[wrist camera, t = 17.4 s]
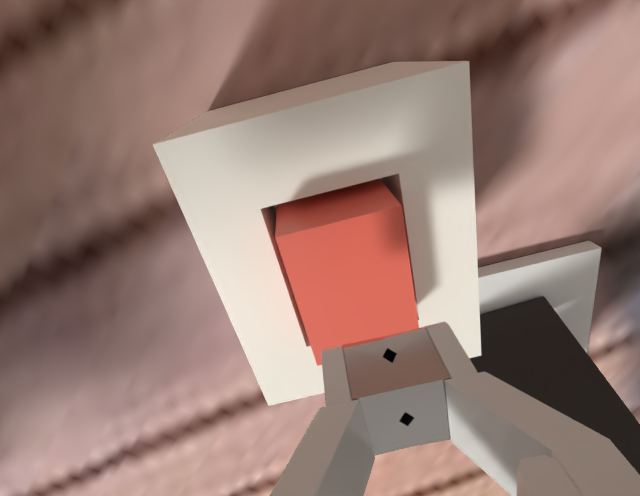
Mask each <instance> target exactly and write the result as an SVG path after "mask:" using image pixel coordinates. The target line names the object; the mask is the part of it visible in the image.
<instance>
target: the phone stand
mask: <svg viewBox="0 0 640 496" xmlns="http://www.w3.org/2000/svg"><path fill="white" fill-rule="evenodd" d="M480 334H481V356H477V357H473V358H469V359H470V360H471V362H472V364H473V365H474V367H475V369H476V370H477V372H478V373H480V372H487V373H489V374H490V375H492V376H494V377H496V378H498V379H500V380H502V381H503V382H505V383H507V384H509V385H511V386H513V387H514V388H516V389H518V390H520V391H522V392H524V393H525V394H527V395H529V396H531V397H533V398H535V399H536V400H538V401H540V402H542V403H544V404H546V405H548V406H549V407H551V408H553V409H555V410H557V411H559V412H560V413H562V414H564V415H566V416H568V417H570V418H571V419H573V420H575V421H577V422H579V423H581V424H582V425H584V426H586V427H588V428H590V429H592V430H594V431H595V432H597V433H599V434H601V435H603V436H605V437H606V438H608V439H610V440H611V442H612V443H613V444H614V445H615V446H616V447H617V449H618V450H619V451H620V452H621V453H622V455H623V456H624V457H625V458H626V459H627V461H628V462H629V463H630V464H631V465H632V466H633V468H634V469H635V470H636V471H637V472H638V474H639V475H640V424H639V423H638V421H637V420H636V419H635V417H634V416H633V415H632V413H631V412H630V411H629V409H628V408H627V407H626V405H625V404H624V403H623V401H622V400H621V399H620V397H619V396H618V394H617V393H616V392H615V390H614V389H613V388H612V386H611V385H610V384H609V382H608V381H607V380H606V378H605V377H604V376H603V374H602V373H601V372H600V370H599V369H598V368H597V366H596V365H595V364H594V362H593V361H592V360H591V358H590V357H589V356H588V354H587V353H586V352H585V350H584V349H583V348H582V346H581V345H580V344H579V342H578V341H577V339H576V338H575V337H574V335H573V334H572V333H571V331H570V330H569V329H568V327H567V326H566V325H565V323H564V322H563V321H562V319H561V318H560V317H559V315H558V314H557V313H556V311H555V310H554V309H553V307H552V306H551V305H550V303H549V302H548V301H547V299H546V298H545V297H544V296H541V297H538V298H534V299H531V300H528V301H524V302H521V303H517V304H514V305H510V306H507V307H504V308H500V309H497V310H493V311H490V312H486V313H483V314H480Z"/></svg>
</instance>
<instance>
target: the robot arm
mask: <svg viewBox="0 0 640 496" xmlns="http://www.w3.org/2000/svg"><path fill="white" fill-rule="evenodd" d="M321 360H322V370H323V381H324V391H325V402H326V407H322V408H319V410H318V412H317V413H316V415H315V417H314V419H313V420H312V422H311V424H310V426H309V427H308V429H307V431H306V433H305V435H304V436H303V438H302V440H301V442H300V443H299V445H298V447H297V449H296V450H295V452H294V454H293V456H292V457H291V459H290V461H289V463H288V464H287V466H286V468H285V470H284V471H283V473H282V475H281V477H280V479H279V480H278V482H277V484H276V486H275V487H274V489H273V491H272V493H271V494H270V496H363V495H364V492H365V489H366V485H367V482H368V479H369V476H370V473H371V469H372V466H373V463H374V460H375V457H374V456H375V455H379V454H383V453H387V452H391V451H395V450H399V449H403V448H407V447H412V446H417V445H423V444H428V443H433V442H439V441H444V440H450V439H451V442H452V443H453V444H454V445H456V446H457V447H458V448H459V449H460V450H461V451H462V452H463V453H465V454H466V455H467V456H468V457H469V458H470V459H471V460H472V461H474V462H475V463H476V464H477V465H478V466H479V467H480V468H481V469H482V470H484V471H485V472H486V473H487V474H488V475H489V476H490V477H491V478H493V479H494V480H495V481H496V482H497V483H498V484H499V485H500V486H502V487H503V488H504V489H505V490H506V491H507V492H508V493H509V494H511V495H512V496H640V475H639V474H638V472H637V471H636V470H635V469H634V468H633V466H632V465H631V464H630V463H629V462H628V461H627V459H626V458H625V457H624V456H623V455H622V453H621V452H620V451H619V450H618V449H617V447H616V446H615V445H614V444H613V443H612V442H611V440H610V439H608V438H606V437H605V436H603V435H601V434H599V433H597V432H595V431H594V430H592V429H590V428H588V427H586V426H584V425H582V424H581V423H579V422H577V421H575V420H573V419H571V418H570V417H568V416H566V415H564V414H562V413H560V412H559V411H557V410H555V409H553V408H551V407H549V406H548V405H546V404H544V403H542V402H540V401H538V400H536V399H535V398H533V397H531V396H529V395H527V394H525V393H524V392H522V391H520V390H518V389H516V388H514V387H513V386H511V385H509V384H507V383H505V382H503V381H502V380H500V379H498V378H496V377H494V376H492V375H490V374H489V373H487V372H480V373H478V372H477V370H476V369H475V367H474V365H473V364H472V362H471V360H470V359H469V357H468V355H467V354H466V352H465V351H464V349H463V347H462V346H461V344H460V342H459V341H458V339H457V337H456V336H455V334H454V332H453V331H452V329H451V327H450V326H449V324H448V323H446V322H445V321H444V322H440V323H436V324H432V325H428V326H424V327H421V328H417V329H413V330H408V331H404V332H400V333H396V334H391V335H387V336H383V337H379V338H374V339H369V340H364V341H359V342H354V343H349V344H344V345H343V346H337V347H332V348H327V349H322V351H321Z"/></svg>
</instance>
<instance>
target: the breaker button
mask: <svg viewBox="0 0 640 496" xmlns="http://www.w3.org/2000/svg"><path fill="white" fill-rule="evenodd" d="M275 239H276V242H277V245H278V248H279V251H280V254H281V257H282V260H283V263H284V266H285V269H286V272H287V275H288V278H289V281H290V284H291V287H292V290H293V293H294V296H295V300H296V303H297V306H298V309H299V312H300V315H301V318H302V321H303V324H304V327H305V330H306V333H307V336H308V339H309V342H310V345H311V348H312V351H313V354H314V357H315V360H316V364H317V366H319V365H322V360H321V351H322V349H327V348H332V347H337V346H343V345H344V344H349V343H354V342H359V341H364V340H369V339H374V338H379V337H383V336H387V335H391V334H396V333H400V332H404V331H408V330H413V329H417V328H419V324H418V317H417V310H416V303H415V296H414V289H413V282H412V275H411V267H410V260H409V253H408V246H407V239H406V232H405V225H404V218H403V211H402V205H401V204H400V203H399V202H398V200H397V199H396V198H395V197H394V195H393V194H392V193H391V192H390V190H389V189H388V188H387V187H386V186H385V184H384V183H383V182H382V181H381V179H380V178H379V179H375V180H371V181H367V182H363V183H360V184H356V185H352V186H348V187H344V188H340V189H336V190H332V191H328V192H324V193H320V194H316V195H313V196H309V197H305V198H301V199H297V200H293V201H289V202H285V203H281V204H277V216H276V232H275Z"/></svg>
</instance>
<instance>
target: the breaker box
mask: <svg viewBox="0 0 640 496" xmlns="http://www.w3.org/2000/svg"><path fill="white" fill-rule="evenodd" d="M153 147H154V149H155V151H156V153H157V156H158V158H159V160H160V162H161V165H162V167H163V169H164V171H165V174H166V176H167V178H168V180H169V183H170V185H171V187H172V189H173V192H174V194H175V196H176V198H177V201H178V203H179V205H180V207H181V210H182V212H183V214H184V216H185V219H186V221H187V223H188V225H189V228H190V230H191V232H192V235H193V237H194V239H195V241H196V244H197V246H198V248H199V250H200V253H201V255H202V257H203V259H204V262H205V264H206V266H207V268H208V271H209V273H210V275H211V277H212V280H213V282H214V284H215V286H216V289H217V291H218V293H219V295H220V298H221V300H222V302H223V304H224V307H225V309H226V311H227V313H228V316H229V318H230V320H231V322H232V325H233V327H234V329H235V331H236V334H237V336H238V338H239V340H240V343H241V345H242V347H243V349H244V352H245V354H246V356H247V358H248V361H249V363H250V365H251V367H252V370H253V372H254V374H255V376H256V379H257V381H258V383H259V385H260V388H261V390H262V392H263V394H264V397H265V399H266V401H267V403H268V406H270V405H274V404H278V403H283V402H287V401H291V400H295V399H300V398H304V397H308V396H312V395H316V394H321V393H325V391H324V381H323V370H322V365H319V366H317V364H316V360H315V357H314V354H313V351H312V348H311V345H310V342H309V339H308V336H307V333H306V330H305V327H304V324H303V321H302V318H301V315H300V312H299V309H298V306H297V303H296V300H295V296H294V293H293V290H292V287H291V284H290V281H289V278H288V275H287V272H286V269H285V266H284V263H283V260H282V257H281V254H280V251H279V248H278V245H277V242H276V239H275V232H276V216H277V204H281V203H285V202H289V201H293V200H297V199H301V198H305V197H309V196H313V195H316V194H320V193H324V192H328V191H332V190H336V189H340V188H344V187H348V186H352V185H356V184H360V183H363V182H367V181H371V180H375V179H379V178H380V179H381V181H382V182H383V183H384V184H385V186H386V187H387V188H388V189H389V190H390V192H391V193H392V194H393V195H394V197H395V198H396V199H397V200H398V202H399V203H400V204H401V205H402V211H403V218H404V225H405V232H406V239H407V246H408V253H409V260H410V267H411V275H412V282H413V289H414V296H415V303H416V310H417V317H418V324H419V328H421V327H424V326H428V325H432V324H436V323H440V322H444V321H445V322H446V323H448V324H449V326H450V327H451V329H452V331H453V332H454V334H455V336H456V337H457V339H458V341H459V342H460V344H461V346H462V347H463V349H464V351H465V352H466V354H467V355H468V357H469V358H473V357H477V356H481V334H480V310H479V286H478V262H477V238H476V213H475V189H474V165H473V141H472V117H471V93H470V68H469V61H428V62H391V63H387V64H383V65H379V66H376V67H372V68H368V69H364V70H361V71H357V72H353V73H349V74H346V75H342V76H338V77H334V78H331V79H327V80H323V81H319V82H316V83H312V84H308V85H304V86H300V87H297V88H293V89H289V90H285V91H282V92H278V93H274V94H270V95H267V96H263V97H259V98H255V99H252V100H248V101H244V102H240V103H236V104H233V105H229V106H225V107H221V108H218V109H214V110H210V111H207V112H205V113H204V114H202V115H200V116H199V117H197V118H195V119H194V120H192V121H191V122H189V123H187V124H186V125H184V126H182V127H181V128H179V129H177V130H176V131H174V132H172V133H171V134H169V135H167V136H166V137H164V138H163V139H161V140H159V141H158V142H156V143H154V144H153Z"/></svg>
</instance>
